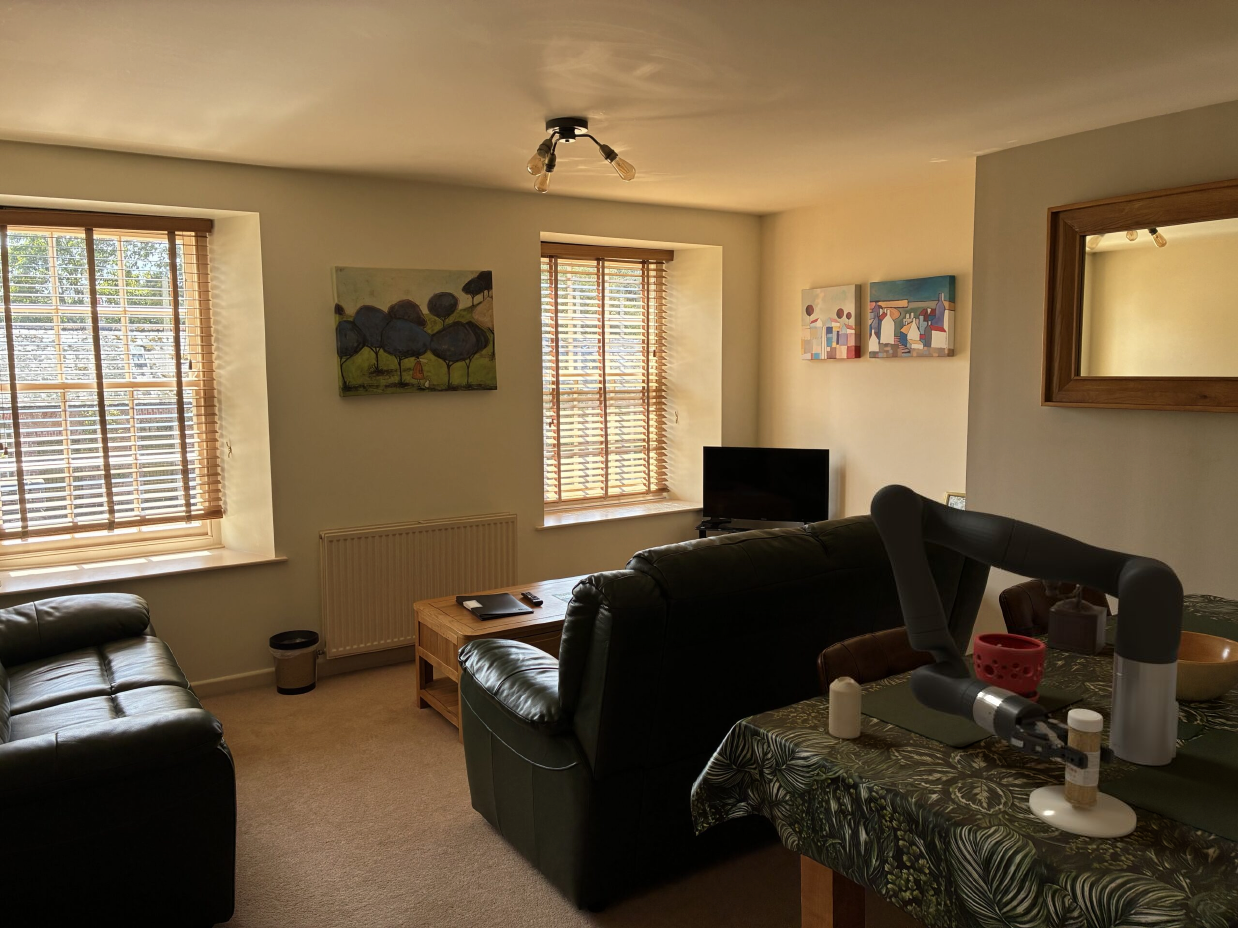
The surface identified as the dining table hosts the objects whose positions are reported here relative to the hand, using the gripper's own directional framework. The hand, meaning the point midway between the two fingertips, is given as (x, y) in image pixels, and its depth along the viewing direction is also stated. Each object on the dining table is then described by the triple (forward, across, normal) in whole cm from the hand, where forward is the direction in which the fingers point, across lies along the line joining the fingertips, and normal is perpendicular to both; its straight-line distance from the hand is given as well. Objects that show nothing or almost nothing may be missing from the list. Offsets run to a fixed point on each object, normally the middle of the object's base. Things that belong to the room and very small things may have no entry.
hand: (1098, 760), depth 131 cm
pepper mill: (-64, +63, +10) cm, 90 cm away
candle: (-40, -15, +10) cm, 44 cm away
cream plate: (-2, 0, +9) cm, 10 cm away
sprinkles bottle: (-3, 0, +8) cm, 8 cm away
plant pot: (-44, +25, +10) cm, 51 cm away
